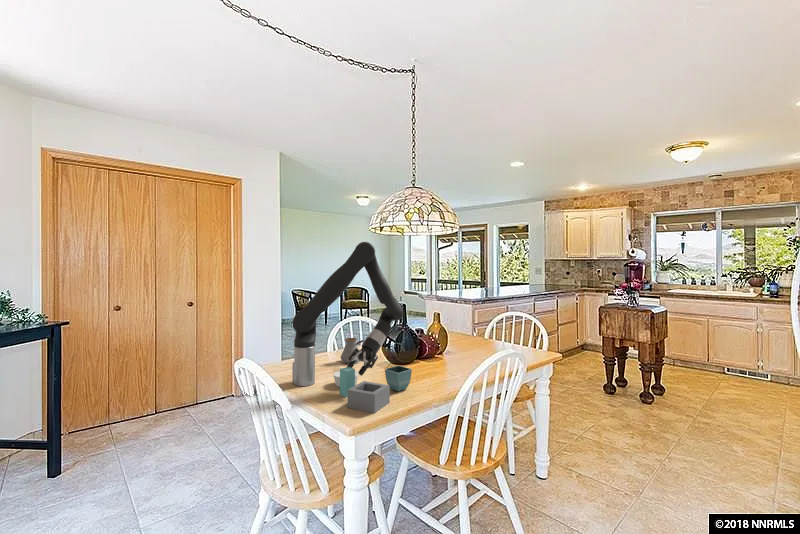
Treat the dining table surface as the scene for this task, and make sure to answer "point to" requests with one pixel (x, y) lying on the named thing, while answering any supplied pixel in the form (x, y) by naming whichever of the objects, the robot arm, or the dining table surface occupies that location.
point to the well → (368, 396)
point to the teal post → (346, 380)
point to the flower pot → (398, 377)
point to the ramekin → (337, 378)
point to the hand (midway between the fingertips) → (353, 372)
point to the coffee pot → (349, 349)
